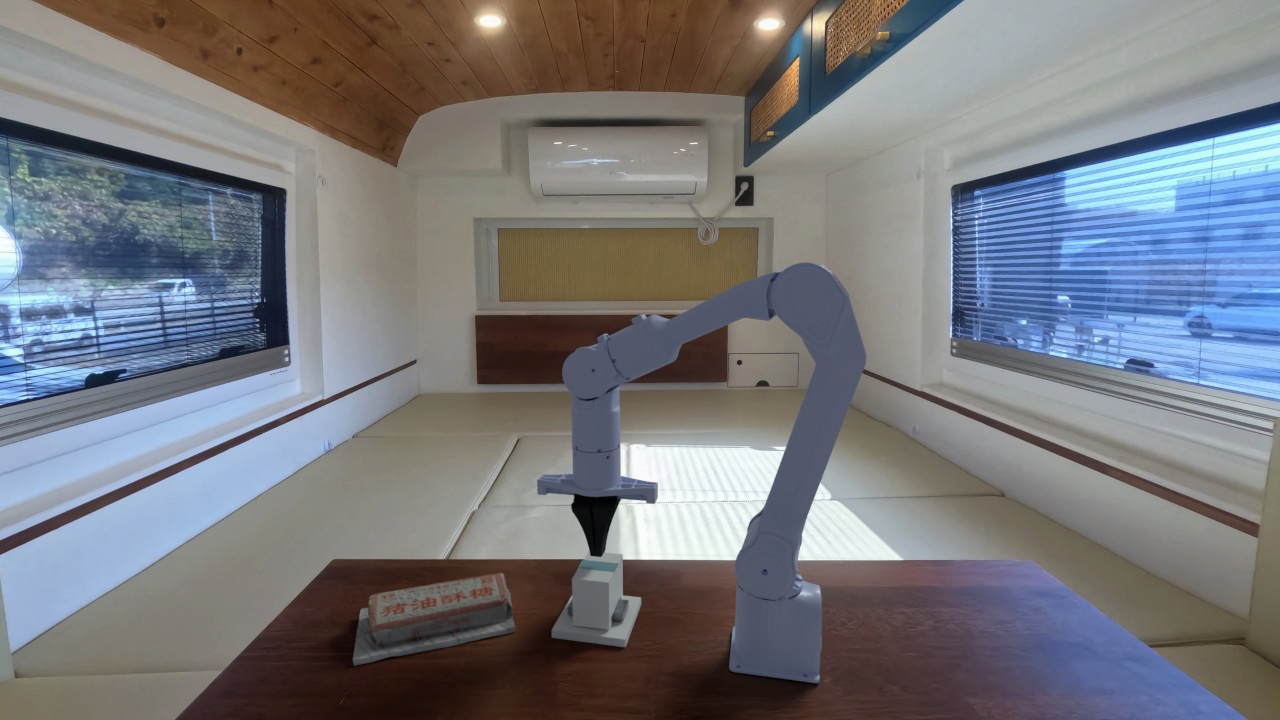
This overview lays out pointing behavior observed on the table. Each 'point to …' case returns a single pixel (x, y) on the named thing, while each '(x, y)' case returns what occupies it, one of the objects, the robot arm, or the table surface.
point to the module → (597, 590)
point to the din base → (612, 637)
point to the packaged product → (433, 617)
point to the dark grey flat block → (618, 612)
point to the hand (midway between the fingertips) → (598, 552)
